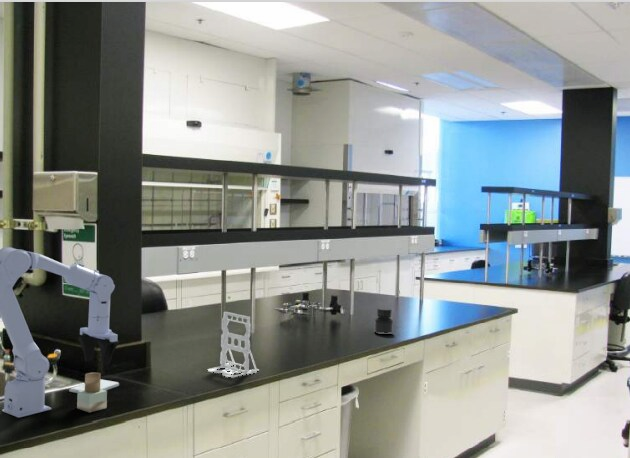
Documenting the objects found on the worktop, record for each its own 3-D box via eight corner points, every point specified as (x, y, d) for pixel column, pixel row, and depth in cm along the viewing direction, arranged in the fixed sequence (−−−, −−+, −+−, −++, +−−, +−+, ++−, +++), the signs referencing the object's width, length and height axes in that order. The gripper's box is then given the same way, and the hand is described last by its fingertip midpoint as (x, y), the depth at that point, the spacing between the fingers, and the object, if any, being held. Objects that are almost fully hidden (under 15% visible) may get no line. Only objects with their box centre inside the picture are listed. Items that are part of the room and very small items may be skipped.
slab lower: (89, 413, 170) (89, 404, 170) (77, 409, 174) (77, 400, 174) (106, 408, 175) (106, 399, 175) (94, 404, 178) (94, 395, 178)
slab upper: (89, 404, 170) (89, 395, 170) (77, 400, 174) (77, 391, 173) (106, 400, 175) (107, 391, 175) (94, 395, 178) (95, 387, 178)
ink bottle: (393, 332, 308) (394, 308, 308) (393, 336, 300) (394, 311, 299) (373, 331, 309) (374, 307, 309) (373, 334, 301) (374, 309, 300)
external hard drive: (118, 387, 197) (90, 397, 185) (97, 383, 200) (68, 393, 188) (119, 382, 197) (91, 392, 185) (98, 378, 200) (69, 387, 188)
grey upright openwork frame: (203, 370, 220) (206, 313, 220) (233, 364, 231) (235, 309, 230) (231, 379, 211) (234, 319, 210) (261, 372, 221) (263, 315, 221)
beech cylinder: (90, 392, 171) (91, 375, 172) (81, 390, 174) (82, 373, 174) (103, 390, 175) (103, 373, 175) (94, 388, 177) (94, 372, 177)
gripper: (127, 317, 181) (125, 364, 181) (95, 311, 189) (93, 356, 190) (106, 320, 175) (104, 369, 176) (74, 313, 183) (72, 360, 184)
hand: (97, 362), depth 182 cm, fingers open, 7 cm apart
